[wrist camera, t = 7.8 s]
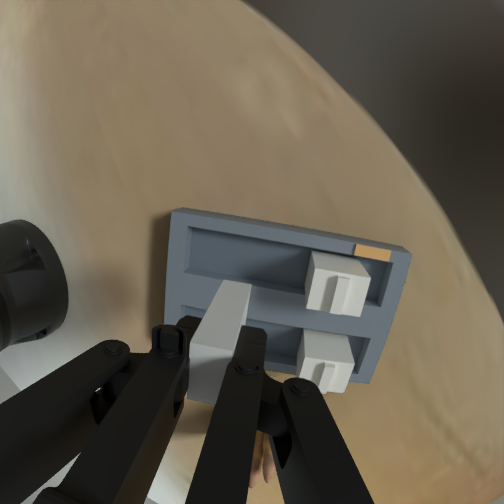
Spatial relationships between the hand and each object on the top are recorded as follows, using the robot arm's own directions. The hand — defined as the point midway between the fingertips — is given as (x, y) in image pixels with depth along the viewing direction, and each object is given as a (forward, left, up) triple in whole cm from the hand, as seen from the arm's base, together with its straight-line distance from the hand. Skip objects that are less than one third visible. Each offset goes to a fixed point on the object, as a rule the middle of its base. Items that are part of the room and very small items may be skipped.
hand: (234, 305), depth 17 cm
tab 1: (+6, 0, -10) cm, 12 cm away
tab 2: (+7, -7, -10) cm, 14 cm away
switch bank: (+3, -4, -12) cm, 12 cm away
